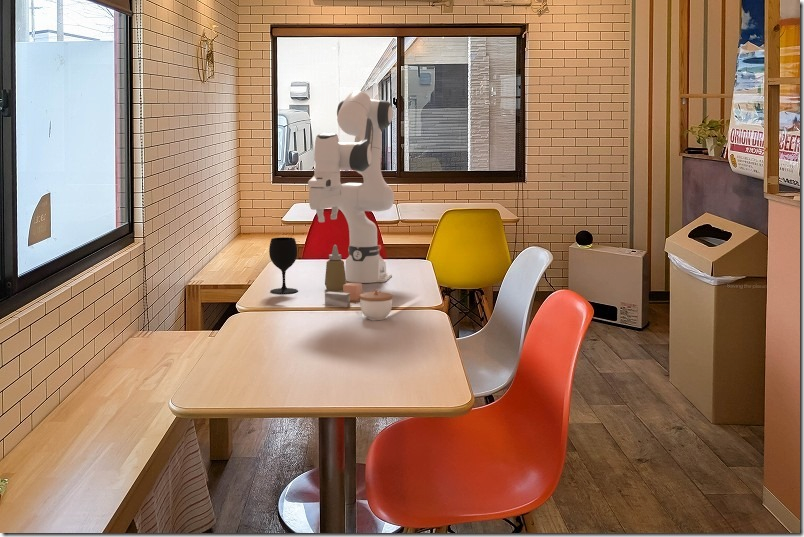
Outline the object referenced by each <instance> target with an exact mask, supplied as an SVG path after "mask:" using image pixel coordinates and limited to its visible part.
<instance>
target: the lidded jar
mask: <svg viewBox="0 0 804 537" xmlns="http://www.w3.org/2000/svg"><path fill="white" fill-rule="evenodd" d="M393 298H394V295H393V293H390V292H385V291H379V289H374V291H369V292H362V294H360V302H359V305H360V310H361V312H362V314H363V316H365V317H366V319H367V320H369V321H382V320H386V318H387V317H388V316H389V314H390V313H391V311H392V307H393Z"/></svg>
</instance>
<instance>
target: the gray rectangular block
mask: <svg viewBox="0 0 804 537" xmlns="http://www.w3.org/2000/svg"><path fill="white" fill-rule="evenodd" d="M358 303H359V304H360V299H357V300H351V299H350V293H343V292H340V291H327V292H325V293H324V303H323V304H322V305H323V306H336V307H345V308H346V307H347V308H350V307H352V306H354V305H356V304H358Z"/></svg>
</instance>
